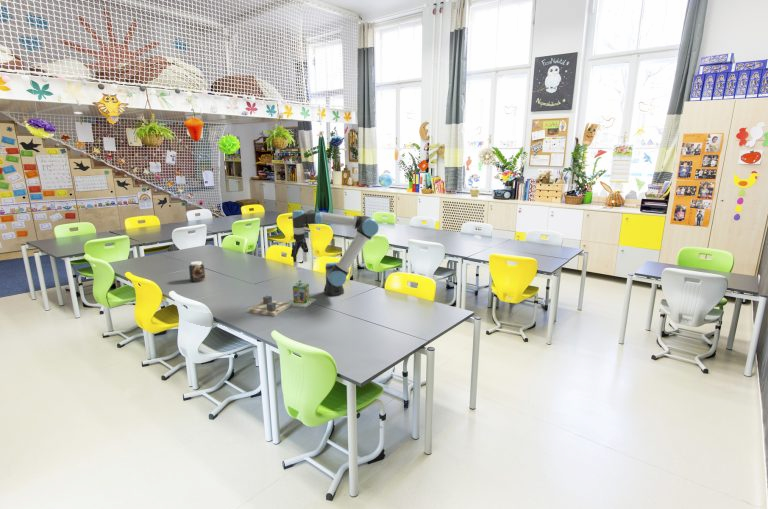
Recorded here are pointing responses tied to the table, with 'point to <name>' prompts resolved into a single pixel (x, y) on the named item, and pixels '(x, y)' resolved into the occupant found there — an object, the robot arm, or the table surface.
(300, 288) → the chalk box
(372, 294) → the table surface
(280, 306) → the switch panel
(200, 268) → the jar
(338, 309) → the table surface
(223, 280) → the table surface
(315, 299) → the mat
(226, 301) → the table surface
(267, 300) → the switch
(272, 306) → the switch
